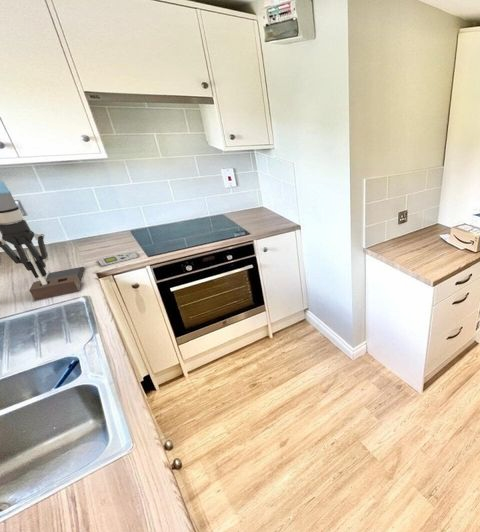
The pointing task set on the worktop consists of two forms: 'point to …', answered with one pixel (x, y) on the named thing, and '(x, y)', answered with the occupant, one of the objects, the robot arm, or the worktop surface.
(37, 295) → the slotted brown block
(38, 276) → the stylus
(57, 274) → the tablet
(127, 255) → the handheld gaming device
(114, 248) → the worktop surface
